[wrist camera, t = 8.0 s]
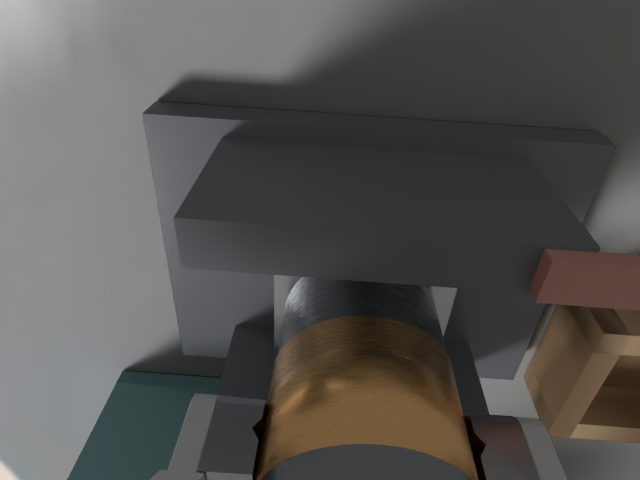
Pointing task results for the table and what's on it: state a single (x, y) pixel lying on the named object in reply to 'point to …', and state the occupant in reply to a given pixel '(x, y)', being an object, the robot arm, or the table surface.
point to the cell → (363, 388)
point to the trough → (588, 374)
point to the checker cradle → (377, 226)
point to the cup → (139, 426)
